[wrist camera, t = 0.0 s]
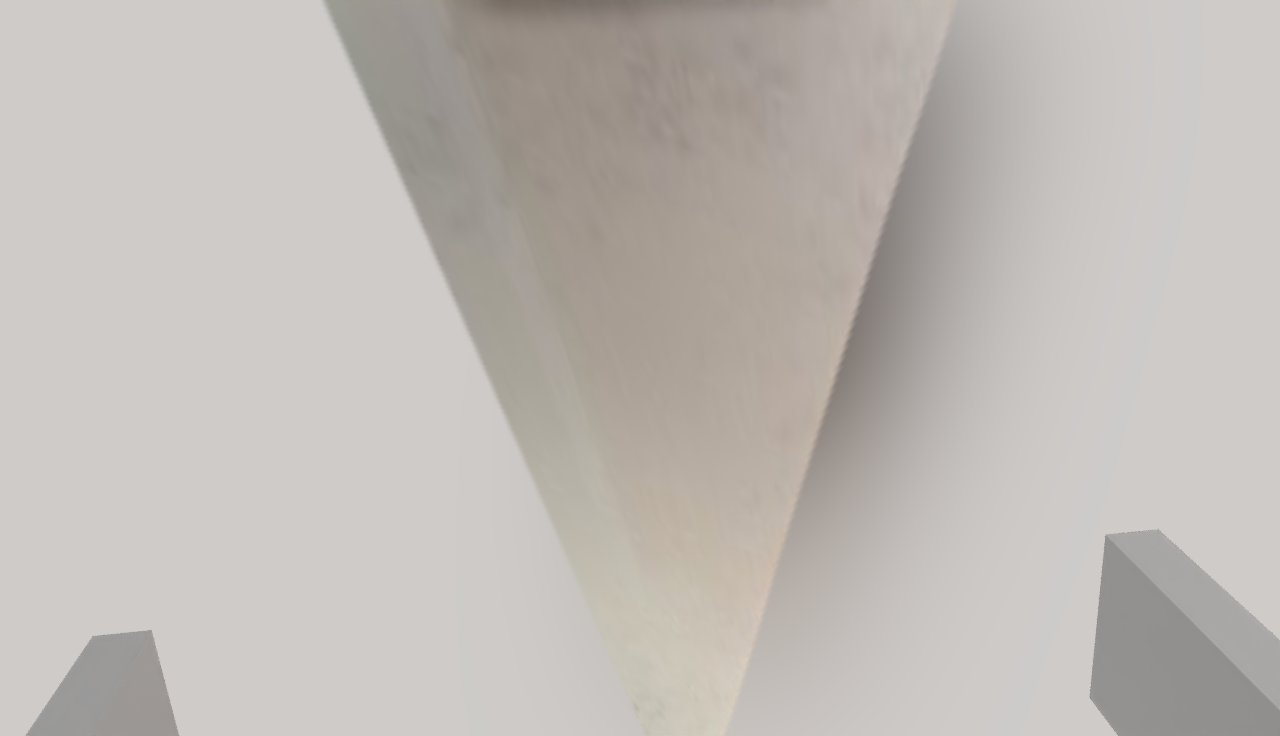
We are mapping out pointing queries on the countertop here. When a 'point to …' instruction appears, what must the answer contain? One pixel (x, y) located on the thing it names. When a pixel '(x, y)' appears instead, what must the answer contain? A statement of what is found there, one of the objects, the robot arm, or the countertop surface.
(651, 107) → the countertop surface
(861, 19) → the countertop surface
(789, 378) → the countertop surface
